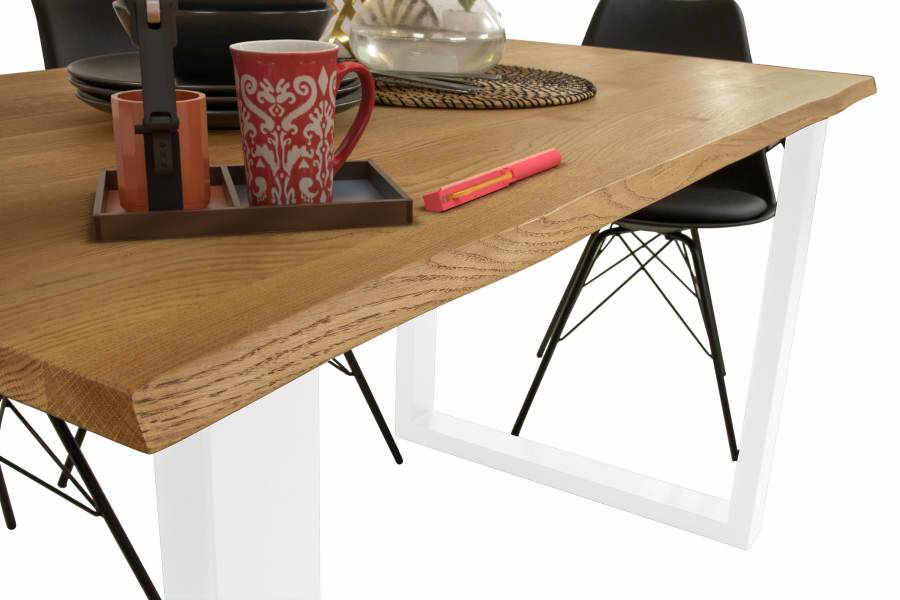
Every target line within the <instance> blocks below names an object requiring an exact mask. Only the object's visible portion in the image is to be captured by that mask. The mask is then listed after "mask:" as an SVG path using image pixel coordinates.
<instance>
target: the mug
mask: <svg viewBox="0 0 900 600" xmlns="http://www.w3.org/2000/svg"><path fill="white" fill-rule="evenodd" d="M228 49H229V52H230V55H231V58H232V66H233V73H234V74H233V75H234V82H235V83H234V84H235V92H236V102H237V110H238V111H237V112H238V117H239V119H238V120H239V128H240V129H239V130H240V138H241V147H242V148H241V149H242V155H243V164H244V166H245V174H246V186H247V194H248V201H249V204H250V206H262V205H283V204H304V203H324V202H332V198H333V178H334V176H335V174H336V173H337V172H338V170H339V169H340V168H341V167H342V165H343V164H344V162H345V161H346V160H348V158H349V157H350V156H351V154H352V152H353V151H354V150H355V148H356V147H357V145H358V143H359V142H360V140H361V138H362V136H363V134H364V133H365V130H366V128H367V126H368V124H369V122H370V119H371V117H372V113H373V109H374V105H375V100H376V85H375V80H374V77H373V74H372V73H371V71H370V70H369V69H368V68H367V67H366V66H365V65H363V64H361V63H359V62H355V61H342V62H340V63H337V62H338V55H339V52H340V49H341V47H340V46H339V45H338V44H336V43H333V42H326V41H321V40H320V41H319V40H309V39H269V40H265V39H264V40H252V41H251V40H250V41H243V42H237V43H233V44H230V45H229V48H228ZM353 72H354V73H355V74H356V75H357V77H358V79H359V81H360V87H361V95H360V103H359V107H358V110H357V112H356V115H355V116H354V117H355V118H354V120H353V122H352V124H351V126H350V128H349V129H348V131H347V133H346V135H345V136H344V138H343V139H342V141H341V142H340V144H339V146H338V147H337V148H336V150H335V127H336V126H335V125H336V98H337V95H338V92H339V89H340V86H341V83H342V82H343V80H344V79H345V77H346V76H347V75H348V74H350V73H353Z"/></svg>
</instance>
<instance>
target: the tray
mask: <svg viewBox="0 0 900 600" xmlns="http://www.w3.org/2000/svg"><path fill="white" fill-rule="evenodd" d="M209 169H210V189H211V196H210V198H211V202H210V204H209V205H208V206H206V207H204V208H201V209H180V210H159V211H139V212H132V211H128V210H126V209H123V208H122V207H121V206H120V199H119V190H118V178H117V168H106V169H104V168H103V169H102V168H101V169H99V171H98V178H97V183H96V189H95V197H94V203H93V210H92V223H93V236H94V243H98V244H99V243H112V242H115V243H116V242H131V241H133V242H134V241H148V240H149V241H150V240H167V239H183V238H184V239H187V238H202V237H203V238H204V237H220V236H238V235H239V236H240V235H254V234H255V235H256V234H258V235H259V234H275V233H291V232H311V231H328V230H330V231H331V230H345V229H363V228H364V229H365V228H366V229H367V228H378V227H379V228H381V227H382V228H383V227H399V226H401V227H402V226H413V225H414V224H413V223H414V221H413V220H414V199H413V198H412V197H410V196H409V195H408V194H407V192H405V191H404V189H403V188H401V186H400V185H398V184H397V183H396V182H395V181H394V180H393V178H391V177H390V176H389V174H387V173H386V171H384V170H383V169H382V168H381V166H379V165H378V164H377V163H376V162H375V161H374V160H373V159H372V158H371V159H370V158H369V159H347V160H346V161H345V162H344V164H343V165H342V167H341V168H340V169H339V170H338V172H337V173H336V174H335V176H334V178H333V198H332V202H324V203H304V204H283V205H262V206H250V204H249V201H248V194H247V186H246V174H245V166H244V163H237V164H235V163H234V164H211V165H210V164H209Z"/></svg>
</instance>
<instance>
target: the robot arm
mask: <svg viewBox="0 0 900 600" xmlns="http://www.w3.org/2000/svg"><path fill="white" fill-rule="evenodd" d="M124 2H125V10H126V13H127V14H128V16H129V22H130V23H129V24H130V35H131V44H132V46H133V47H134V48H135V49H137V50H138V53H139V54H138V55H139V66H140V81H141V90H142V96H143V110H144V118H143V119H142V124H143V125H134V127H135V134H143V138H144V151H145V164H146V178H147V191H148V205H149V211H159V210H180V209H184V206H183V190H182V174H181V157H180V141H179V131H177V130H178V129H179V125H180V122H179V118H178V117H177V106H176V91H175V89H176V77H175V63H174V48H176V47H177V46H178V27H177V15H178V14H179V0H125V1H124ZM152 113H168V114H152Z"/></svg>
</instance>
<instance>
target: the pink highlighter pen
mask: <svg viewBox="0 0 900 600" xmlns="http://www.w3.org/2000/svg"><path fill="white" fill-rule="evenodd" d="M562 160H563V158H562V154H561V153H560V152H559V151H557V150H556V147H552V148H549V149H545V150H543V151H541V152H538V153H534V154H532V155H528V156H526V157H523V158H520V159H518V160H514V161H512V162H509V163H506V164H504V165H503V164H502V165H500V166H497V167H494V168H492V169H490V170H486V171H484V172H481V173H477V174H474V175H472V176H470V177H466V178H463V179H461V180H457V181H455V182H453V183H449V184H447V185H444V186H440V187H439V189H437V190H434V191H431V192H429V193H426V194H423V195H422V200H423V203H424V206H425V210H426V211H431V212H436V213H439V212H440V213H441V212H443V211H446V210H448V209H452V208H454V207H457V206H460V205H462V204H464V203H467V202H469V201H472V200H474V199H478V198H480V197H483V196H485V195H487V194H488V195H489V194H490V193H492V192H495V191H498V190H500V189H503V188H505V187H508V186H510V184H513V183H515V182H516V183H517V182H518V181H521V180H523V179H526V178H529V177H531V176H533V175H536V174H539V173H542V172H544V171H547V170H549V169H552V168H555V167H558V166H560V164H561V163H562Z"/></svg>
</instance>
